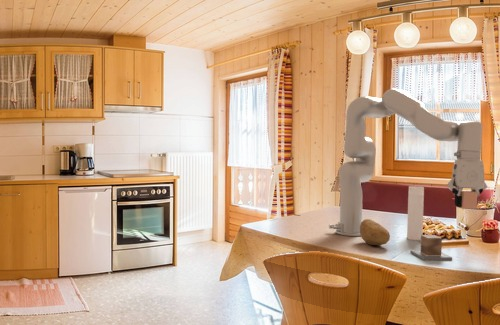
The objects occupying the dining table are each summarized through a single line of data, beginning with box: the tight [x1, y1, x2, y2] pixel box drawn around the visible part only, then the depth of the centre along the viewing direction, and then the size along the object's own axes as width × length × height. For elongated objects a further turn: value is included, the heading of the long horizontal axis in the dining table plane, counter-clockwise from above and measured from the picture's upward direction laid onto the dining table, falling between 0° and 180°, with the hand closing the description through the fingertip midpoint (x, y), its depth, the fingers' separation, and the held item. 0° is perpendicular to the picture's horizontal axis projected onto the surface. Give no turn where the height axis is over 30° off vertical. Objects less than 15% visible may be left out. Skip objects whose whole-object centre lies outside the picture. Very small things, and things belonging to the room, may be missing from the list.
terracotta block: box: [454, 189, 478, 210], centre depth 156 cm, size 5×5×6 cm
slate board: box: [410, 249, 453, 261], centre depth 154 cm, size 10×10×1 cm
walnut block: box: [420, 234, 443, 255], centre depth 154 cm, size 5×5×6 cm
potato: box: [360, 218, 391, 246], centre depth 170 cm, size 9×16×9 cm, turn 10°
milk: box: [406, 185, 425, 242], centre depth 183 cm, size 6×6×22 cm
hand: (465, 206), depth 157 cm, fingers closed on terracotta block, 5 cm apart
